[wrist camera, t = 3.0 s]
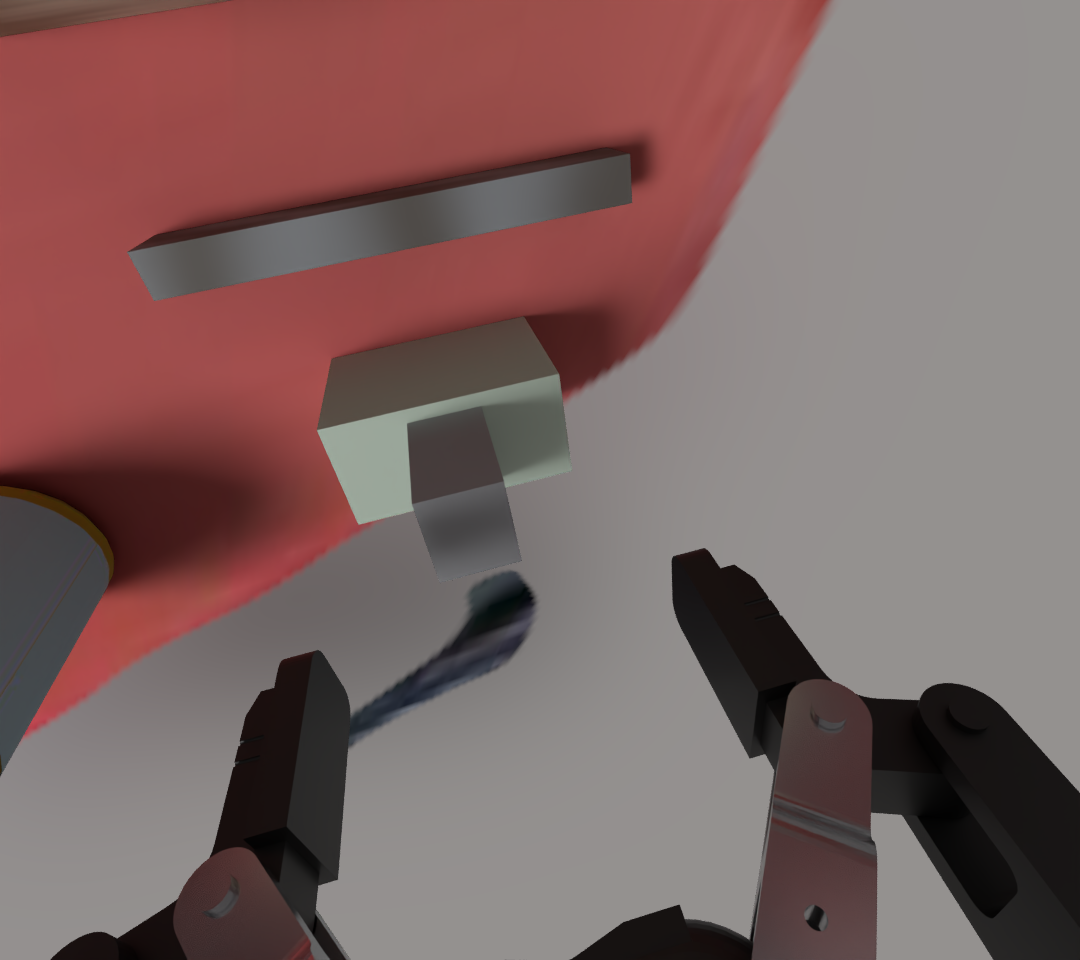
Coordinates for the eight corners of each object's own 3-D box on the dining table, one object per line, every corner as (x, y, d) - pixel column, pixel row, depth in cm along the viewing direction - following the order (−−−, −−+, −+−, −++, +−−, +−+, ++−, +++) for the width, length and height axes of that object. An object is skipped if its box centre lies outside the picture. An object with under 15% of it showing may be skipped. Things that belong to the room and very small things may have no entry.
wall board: (119, 291, 20) (-137, 482, 10) (-85, -57, 14) (-1034, -357, 5) (658, 182, 22) (876, 255, 12) (653, -161, 16) (1036, -524, 7)
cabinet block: (363, 441, 25) (352, 618, 17) (331, 358, 23) (299, 515, 14) (537, 400, 26) (610, 549, 17) (523, 316, 23) (600, 441, 15)
